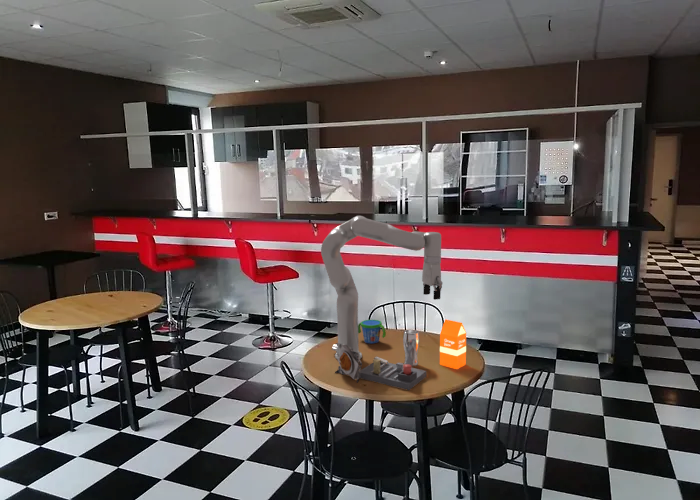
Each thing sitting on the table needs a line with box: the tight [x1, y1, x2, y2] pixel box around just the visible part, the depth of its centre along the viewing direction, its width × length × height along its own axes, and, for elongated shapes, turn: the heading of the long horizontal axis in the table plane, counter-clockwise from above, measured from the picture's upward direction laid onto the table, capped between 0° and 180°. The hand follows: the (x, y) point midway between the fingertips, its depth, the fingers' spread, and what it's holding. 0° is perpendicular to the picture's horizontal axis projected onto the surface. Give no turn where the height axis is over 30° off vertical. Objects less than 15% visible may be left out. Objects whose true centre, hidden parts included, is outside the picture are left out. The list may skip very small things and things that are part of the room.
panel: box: [359, 361, 427, 391], centre depth 218 cm, size 24×16×5 cm, turn 56°
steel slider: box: [395, 361, 405, 372], centre depth 218 cm, size 3×2×3 cm, turn 56°
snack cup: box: [358, 319, 387, 345], centre depth 263 cm, size 16×10×10 cm
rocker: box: [373, 355, 389, 364], centre depth 227 cm, size 6×2×1 cm, turn 56°
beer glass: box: [402, 328, 420, 367], centre depth 232 cm, size 7×7×15 cm
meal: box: [334, 342, 363, 383], centre depth 219 cm, size 15×4×13 cm, turn 38°
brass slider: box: [372, 358, 381, 374], centre depth 216 cm, size 3×2×6 cm, turn 56°
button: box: [403, 364, 412, 375], centre depth 210 cm, size 3×3×4 cm
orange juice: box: [439, 318, 467, 370], centre depth 230 cm, size 8×9×20 cm
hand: (431, 296), depth 237 cm, fingers open, 9 cm apart
